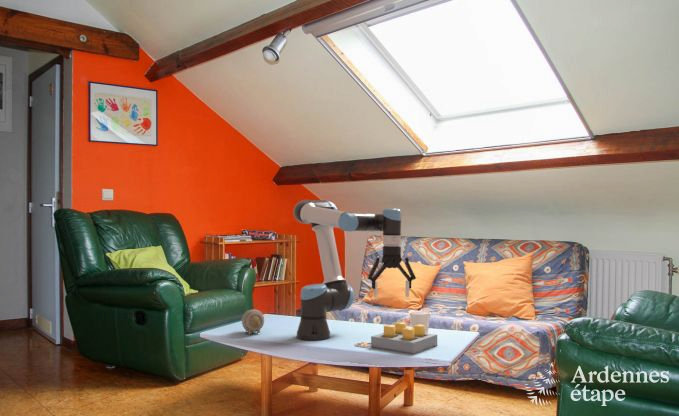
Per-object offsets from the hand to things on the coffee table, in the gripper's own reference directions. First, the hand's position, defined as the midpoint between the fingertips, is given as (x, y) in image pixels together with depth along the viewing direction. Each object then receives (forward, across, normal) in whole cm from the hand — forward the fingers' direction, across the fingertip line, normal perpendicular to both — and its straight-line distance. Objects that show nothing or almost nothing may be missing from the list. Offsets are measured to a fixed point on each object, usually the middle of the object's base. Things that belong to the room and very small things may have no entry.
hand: (391, 296), depth 217 cm
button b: (+17, +5, -7) cm, 19 cm away
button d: (+17, +12, -1) cm, 21 cm away
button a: (+17, -1, 0) cm, 17 cm away
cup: (+21, +18, +17) cm, 32 cm away
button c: (+17, +6, +6) cm, 19 cm away
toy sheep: (+22, -56, +38) cm, 71 cm away
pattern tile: (+21, -11, +3) cm, 23 cm away
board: (+20, +6, -1) cm, 21 cm away
